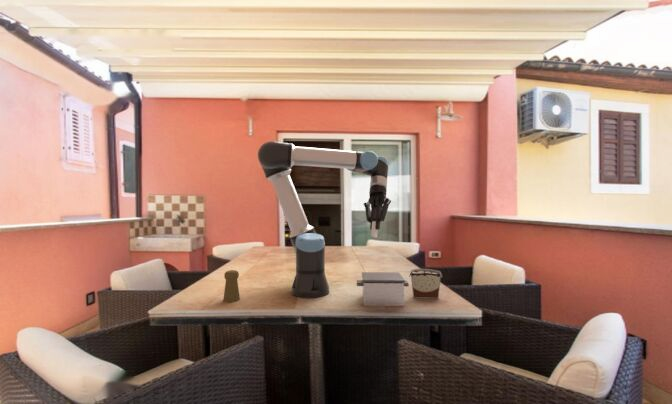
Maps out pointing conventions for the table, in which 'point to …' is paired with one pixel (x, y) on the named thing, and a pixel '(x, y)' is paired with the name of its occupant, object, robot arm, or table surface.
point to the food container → (425, 283)
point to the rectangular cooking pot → (383, 293)
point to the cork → (231, 286)
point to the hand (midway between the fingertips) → (374, 236)
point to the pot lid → (382, 277)
